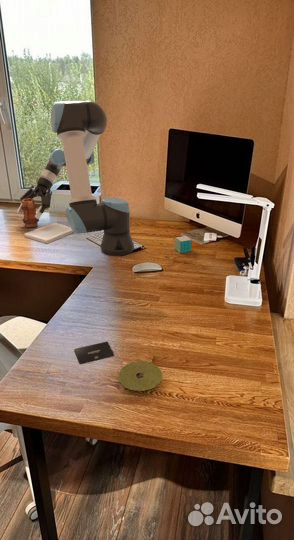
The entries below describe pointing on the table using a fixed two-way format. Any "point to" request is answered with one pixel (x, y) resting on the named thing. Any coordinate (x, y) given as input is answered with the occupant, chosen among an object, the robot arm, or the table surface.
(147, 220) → the table surface
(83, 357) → the solid state drive
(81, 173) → the robot arm
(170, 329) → the table surface
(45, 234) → the cream rectangular slab
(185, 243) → the puzzle toy
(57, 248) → the table surface
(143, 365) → the olive green disc
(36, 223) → the orange brown figurine
